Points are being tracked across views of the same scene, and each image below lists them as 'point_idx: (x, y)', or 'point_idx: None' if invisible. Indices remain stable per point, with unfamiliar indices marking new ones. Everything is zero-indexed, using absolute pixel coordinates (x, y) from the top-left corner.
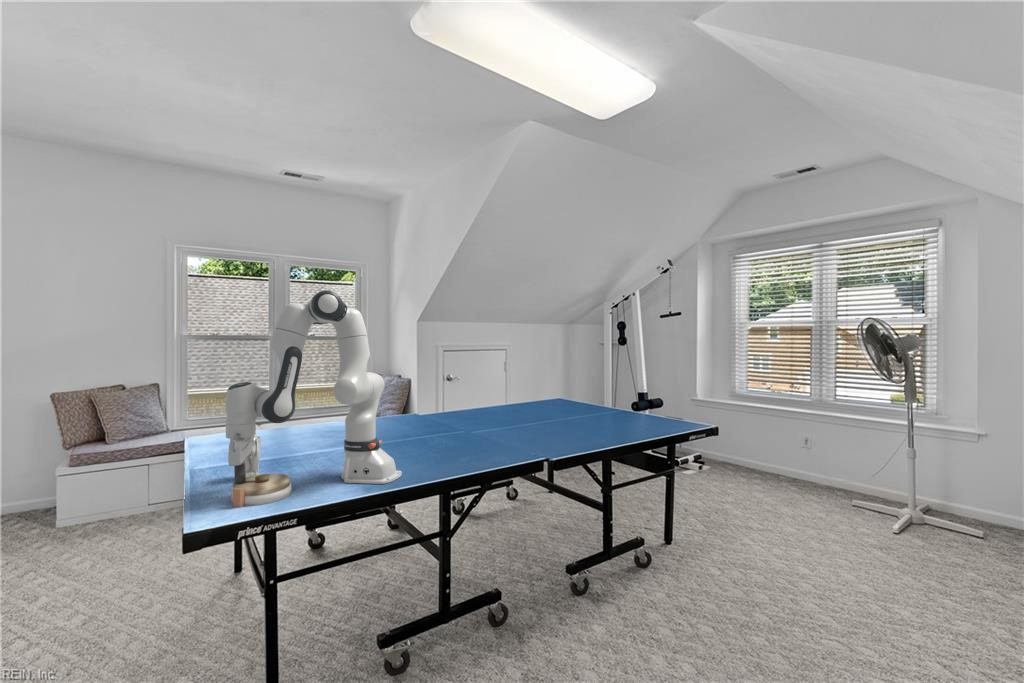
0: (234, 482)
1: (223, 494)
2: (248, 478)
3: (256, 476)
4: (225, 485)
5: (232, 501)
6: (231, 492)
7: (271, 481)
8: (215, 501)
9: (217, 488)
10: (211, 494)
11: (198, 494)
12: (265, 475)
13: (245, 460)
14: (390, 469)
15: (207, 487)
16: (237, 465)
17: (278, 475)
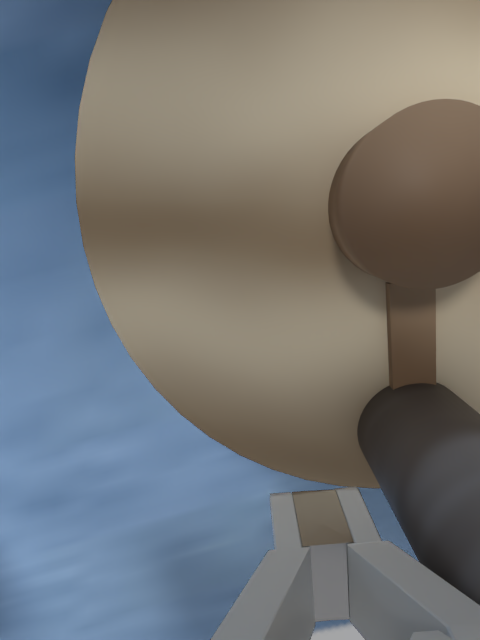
0: (376, 486)
1: (243, 501)
2: (254, 391)
3: (407, 280)
4: (32, 547)
5: None
6: None
7: (473, 58)
8: (389, 504)
9: (97, 574)
10: (226, 570)
11: (210, 636)
12: (388, 158)
13: (252, 635)
14: None
15: (67, 633)
16: None
17: (187, 29)
